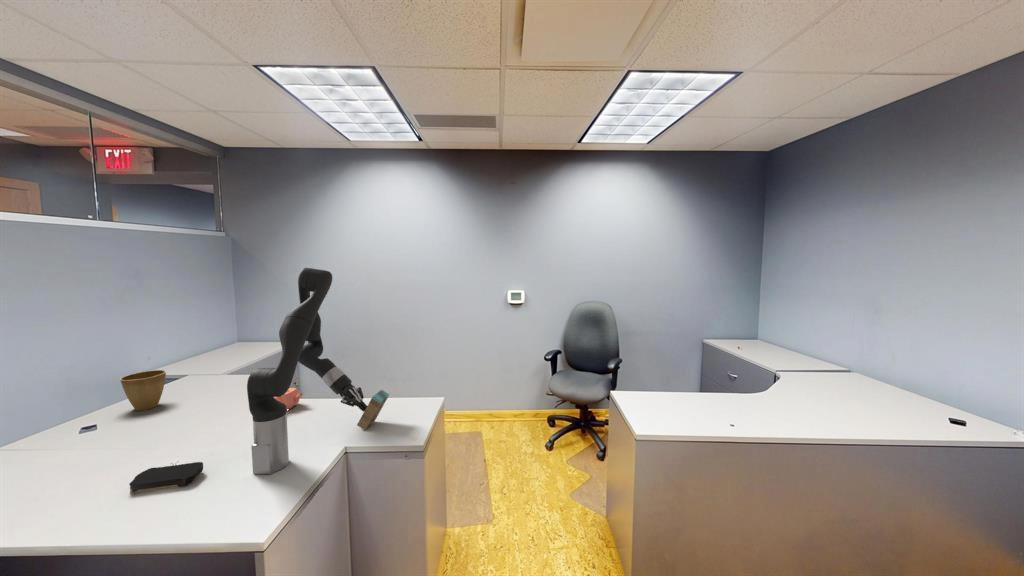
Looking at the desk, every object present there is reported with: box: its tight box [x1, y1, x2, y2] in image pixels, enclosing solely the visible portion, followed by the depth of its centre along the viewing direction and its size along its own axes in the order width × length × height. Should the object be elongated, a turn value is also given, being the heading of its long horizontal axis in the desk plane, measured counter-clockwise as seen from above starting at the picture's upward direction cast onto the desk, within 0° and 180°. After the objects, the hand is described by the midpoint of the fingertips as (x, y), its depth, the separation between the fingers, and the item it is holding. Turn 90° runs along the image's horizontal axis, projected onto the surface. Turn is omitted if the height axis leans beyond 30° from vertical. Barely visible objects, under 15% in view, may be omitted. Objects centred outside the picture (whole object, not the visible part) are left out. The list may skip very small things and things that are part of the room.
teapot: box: [274, 387, 304, 410], centre depth 163 cm, size 12×12×10 cm
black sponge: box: [128, 461, 204, 495], centre depth 107 cm, size 16×8×4 cm, turn 104°
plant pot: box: [119, 369, 167, 411], centre depth 164 cm, size 15×15×16 cm
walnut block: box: [356, 389, 390, 431], centre depth 144 cm, size 8×4×14 cm, turn 175°
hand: (365, 409), depth 145 cm, fingers closed
